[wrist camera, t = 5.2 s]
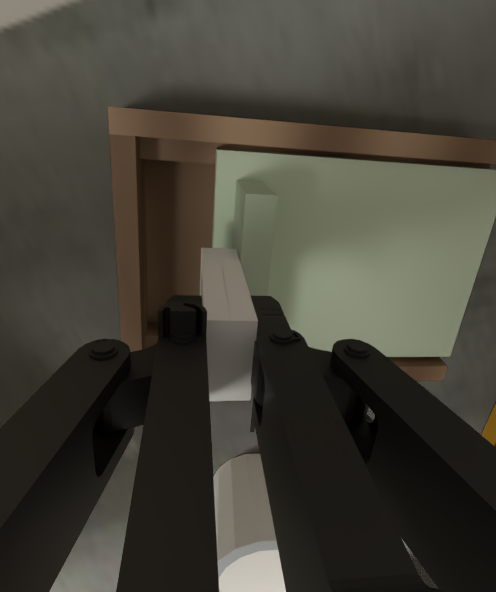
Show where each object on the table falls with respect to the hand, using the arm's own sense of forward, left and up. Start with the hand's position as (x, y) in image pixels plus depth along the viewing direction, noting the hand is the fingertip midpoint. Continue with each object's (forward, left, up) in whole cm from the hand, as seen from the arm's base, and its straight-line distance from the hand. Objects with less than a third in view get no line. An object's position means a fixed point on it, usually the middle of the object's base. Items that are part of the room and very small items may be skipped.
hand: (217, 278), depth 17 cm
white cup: (+4, -18, -5) cm, 19 cm away
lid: (+7, 0, -3) cm, 8 cm away
